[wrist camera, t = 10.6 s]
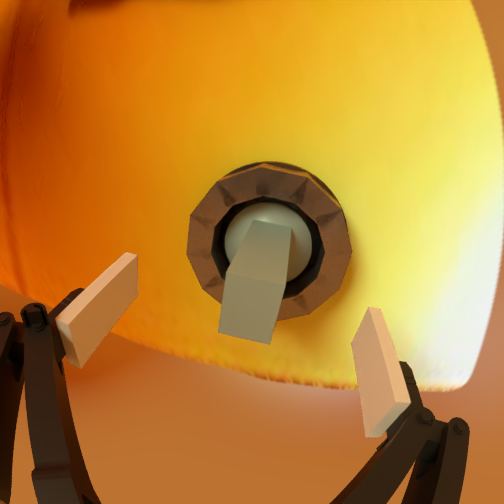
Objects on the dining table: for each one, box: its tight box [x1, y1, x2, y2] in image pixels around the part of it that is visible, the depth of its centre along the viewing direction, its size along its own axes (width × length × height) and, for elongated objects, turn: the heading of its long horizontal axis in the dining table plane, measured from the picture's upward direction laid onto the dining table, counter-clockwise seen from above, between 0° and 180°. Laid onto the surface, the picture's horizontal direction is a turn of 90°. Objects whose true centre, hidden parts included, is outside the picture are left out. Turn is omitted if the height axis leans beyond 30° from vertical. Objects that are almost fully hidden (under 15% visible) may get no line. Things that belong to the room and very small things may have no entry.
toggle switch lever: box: [218, 200, 312, 344], centre depth 20 cm, size 7×7×10 cm
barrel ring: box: [187, 161, 352, 321], centre depth 24 cm, size 13×13×3 cm
